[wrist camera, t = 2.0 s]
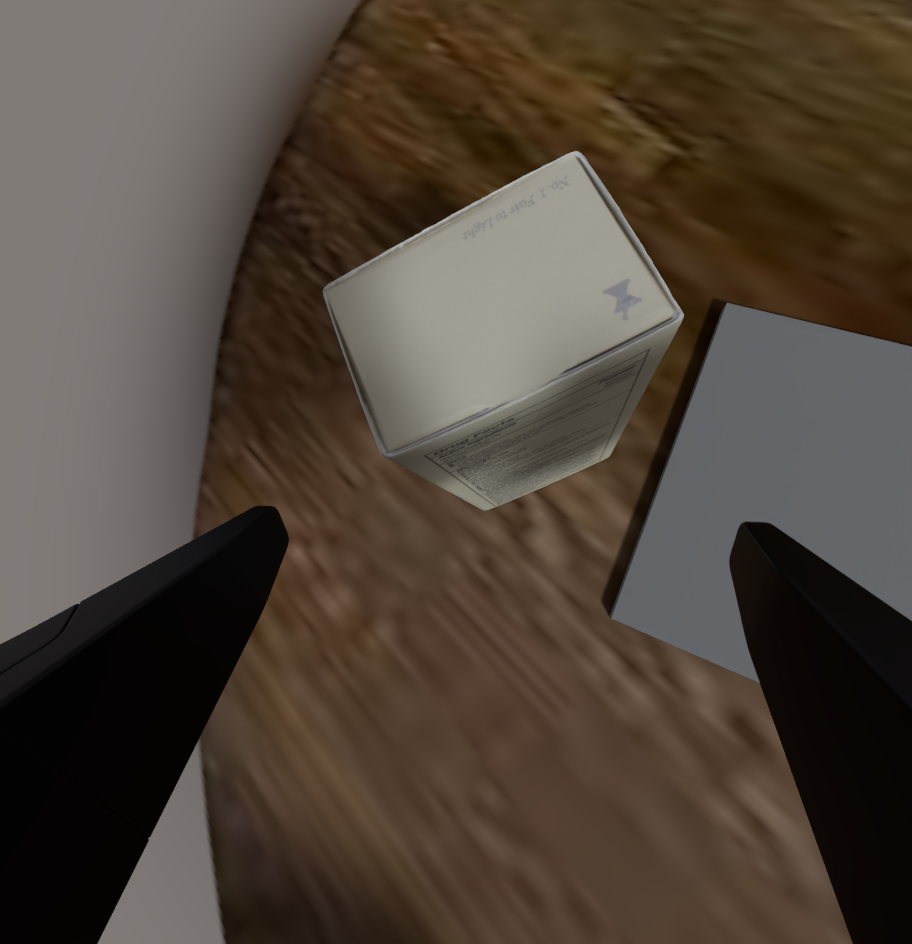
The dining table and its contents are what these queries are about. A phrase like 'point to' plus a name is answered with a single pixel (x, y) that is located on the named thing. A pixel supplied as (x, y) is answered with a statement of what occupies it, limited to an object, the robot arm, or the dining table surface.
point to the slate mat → (777, 476)
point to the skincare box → (507, 336)
